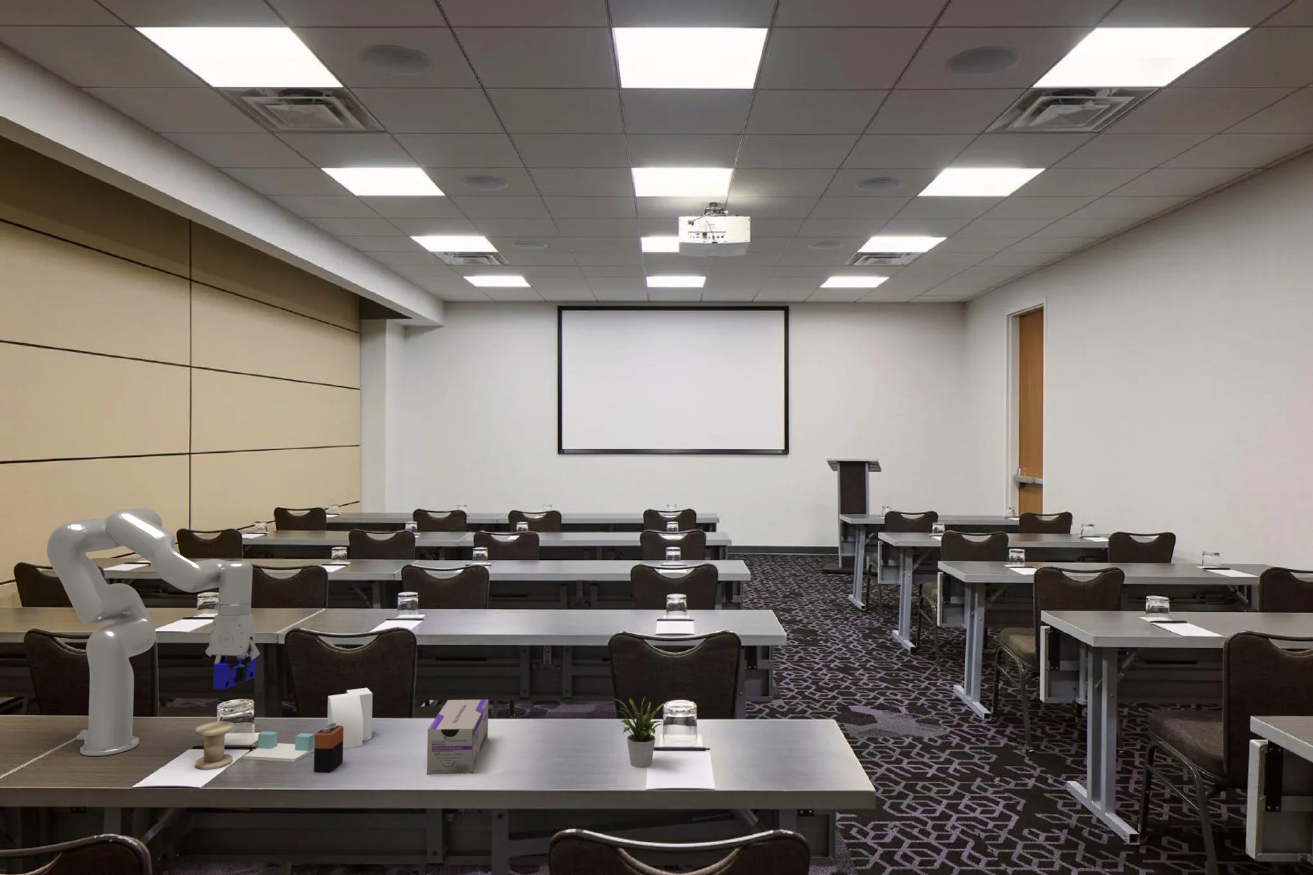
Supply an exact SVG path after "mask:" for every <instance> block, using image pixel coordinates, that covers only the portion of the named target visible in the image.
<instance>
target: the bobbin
mask: <svg viewBox="0 0 1313 875" xmlns="http://www.w3.org/2000/svg"><path fill="white" fill-rule="evenodd" d="M233 729H234V723H233V722H231V721H213V722H208V723H204V724H201V725H198V726H197V727H196V729H195V735H197V736H203V756H202V757H200V758H199V759H196V760H195V762H194V768H195V769H197V770H205V771H206V770H216V769H220V768H224V767H227V766H229V765H231V764H232V763H233V756H232V754H228V753H225V740H226V737H225V736H226V733H229V732H231V731H232V730H233Z"/></svg>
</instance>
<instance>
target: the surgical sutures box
mask: <svg viewBox="0 0 1313 875" xmlns="http://www.w3.org/2000/svg"><path fill="white" fill-rule="evenodd" d="M488 734H489V699H447V701H446V702H445V704H444V705H443V706H442V708H441V710H440V711H439V713H438V714H437V715H436V717H435V718H434V720H433V721H432V723H431V724H430V726H429V727H428V728H427V743H426V744H427V745H426V752H427V753H426V755H427V757H426V759H427V760H426V775H464V774H465V775H467V774H473V773H474V771H475V769H476V767H477V765H478V762H479V760H480V758H481V756H482V753H483V750H484V749H485V746H486V744H487V742H488V740H489V738H488V736H489V735H488Z"/></svg>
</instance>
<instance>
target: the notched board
mask: <svg viewBox="0 0 1313 875" xmlns="http://www.w3.org/2000/svg"><path fill="white" fill-rule="evenodd" d="M314 738H315V733H304V732H300V733H299V734H297V735H295V736H294V740H295V741H294V743H282V742H278V731H269V730H268V731H266V730H264V731H262V732H260V733H258V736H257V748H256V749H254V750H251V751H250V752H248V753H246V754H244V755H243V756H242V758H243V760H251V761H267V762H270V761H271V762H283V763H284V762H285V763H296V762H298V761H299V760H302V759H303V758H304V757H307V756H308V755H310V754H311V753H314Z"/></svg>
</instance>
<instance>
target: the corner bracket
mask: <svg viewBox="0 0 1313 875" xmlns="http://www.w3.org/2000/svg"><path fill="white" fill-rule="evenodd" d="M331 723H336V726H343V727H344V729H343V750H344V749H345V750H346V749H351V748H357V747H362V746H363V741H365V739H366V740H370V739H369V738H372V732H373V730H372V729H373V692H372V691H371V690H370V689H369V688H368V687H364V688H355V689H346V693H343V694H341V693H340V694H333V695H328V696H327V725H326V726H328V725H329V724H331Z"/></svg>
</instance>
